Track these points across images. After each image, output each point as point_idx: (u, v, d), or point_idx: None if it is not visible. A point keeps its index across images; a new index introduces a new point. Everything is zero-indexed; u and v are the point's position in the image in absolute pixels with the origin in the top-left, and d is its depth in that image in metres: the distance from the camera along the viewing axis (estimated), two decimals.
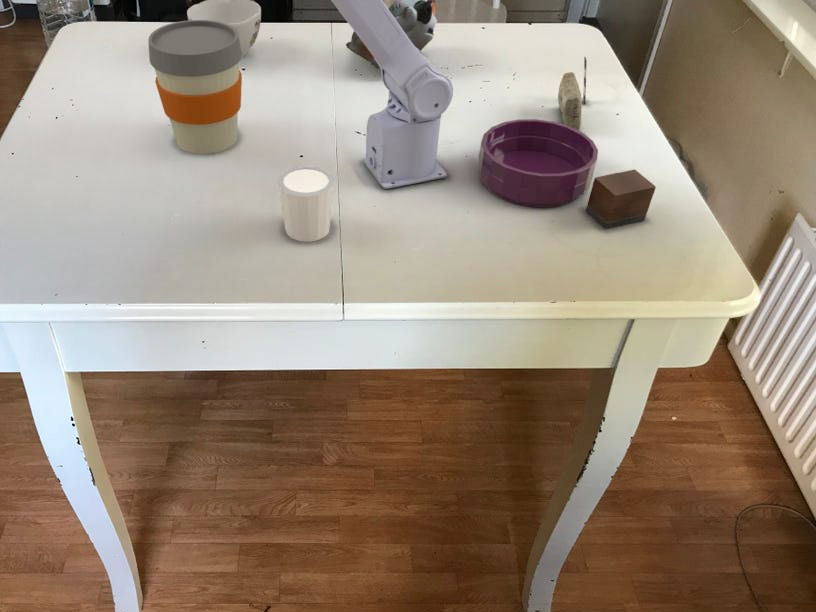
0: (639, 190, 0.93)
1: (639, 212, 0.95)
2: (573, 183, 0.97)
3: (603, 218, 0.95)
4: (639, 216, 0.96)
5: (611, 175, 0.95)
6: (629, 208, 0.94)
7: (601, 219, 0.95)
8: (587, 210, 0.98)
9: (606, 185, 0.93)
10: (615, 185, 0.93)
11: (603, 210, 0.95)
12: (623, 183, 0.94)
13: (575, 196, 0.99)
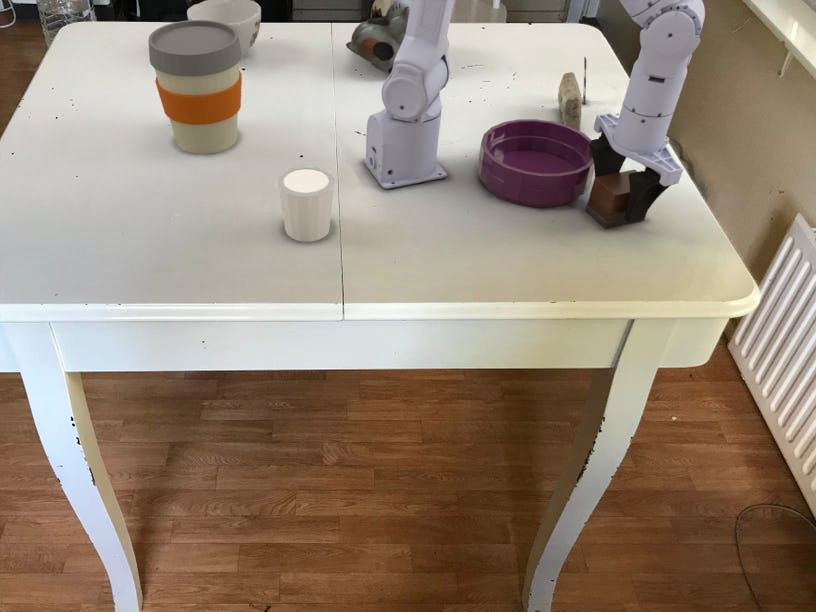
0: None
1: None
2: (573, 183, 0.97)
3: (603, 218, 0.95)
4: None
5: (611, 175, 0.95)
6: None
7: (601, 219, 0.95)
8: (587, 210, 0.98)
9: (606, 185, 0.93)
10: (615, 185, 0.93)
11: (603, 210, 0.95)
12: (623, 183, 0.94)
13: (575, 196, 0.99)
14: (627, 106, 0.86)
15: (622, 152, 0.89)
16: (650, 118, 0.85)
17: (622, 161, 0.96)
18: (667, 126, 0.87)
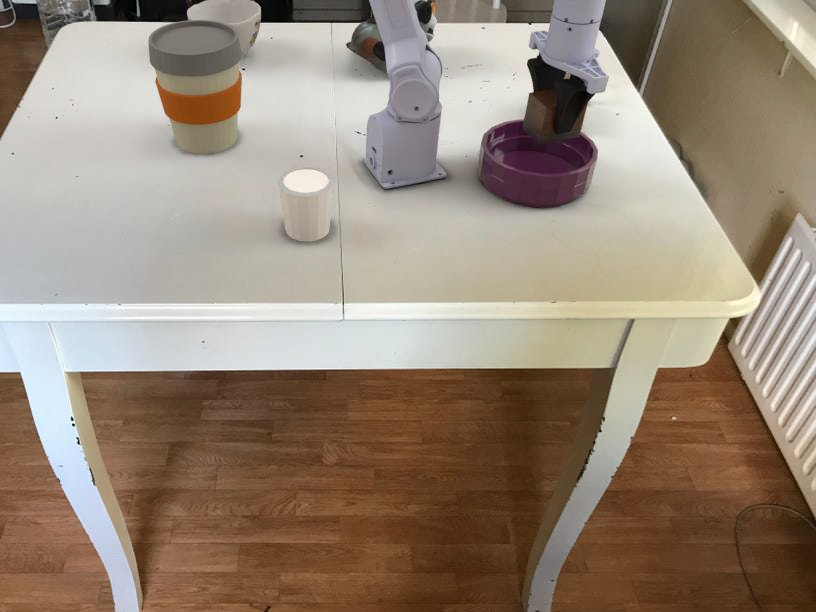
0: None
1: (573, 128, 0.97)
2: (573, 183, 0.97)
3: (537, 133, 0.96)
4: (574, 132, 0.97)
5: (545, 91, 0.96)
6: None
7: (536, 134, 0.97)
8: (523, 127, 0.99)
9: (540, 99, 0.95)
10: (548, 99, 0.95)
11: (537, 125, 0.96)
12: None
13: (575, 196, 0.99)
14: (558, 17, 0.87)
15: (552, 63, 0.90)
16: (576, 25, 0.87)
17: None
18: (594, 35, 0.88)
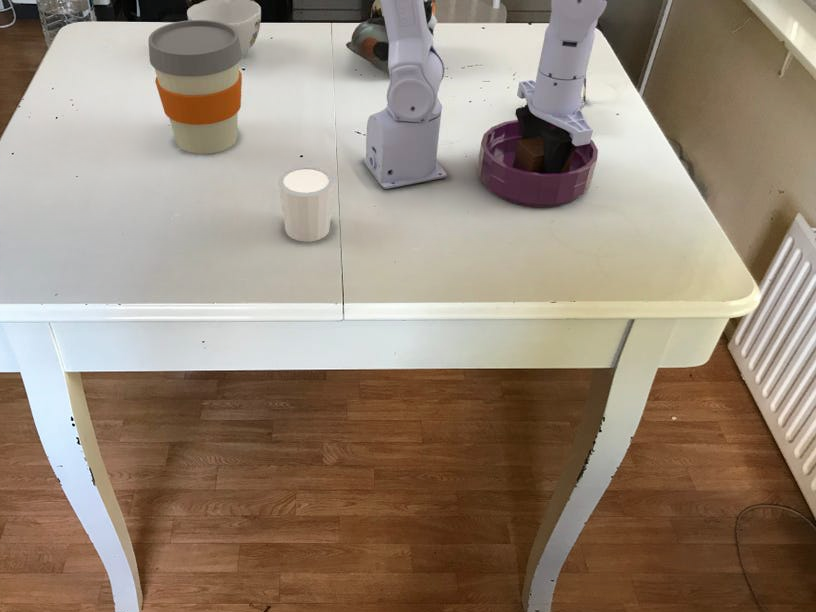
0: None
1: None
2: (573, 183, 0.97)
3: None
4: None
5: (533, 138, 1.00)
6: None
7: None
8: None
9: (528, 147, 0.98)
10: (536, 148, 0.98)
11: None
12: None
13: (575, 196, 0.99)
14: (543, 72, 0.91)
15: (538, 115, 0.94)
16: (561, 81, 0.90)
17: (547, 129, 1.00)
18: (579, 89, 0.91)
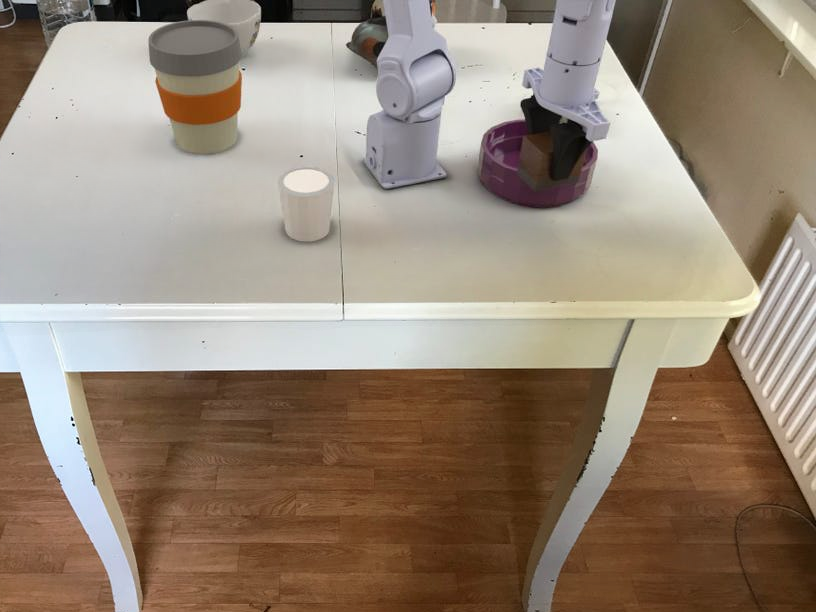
0: None
1: (572, 173, 0.89)
2: None
3: (532, 179, 0.89)
4: (572, 177, 0.89)
5: (541, 133, 0.89)
6: None
7: (531, 181, 0.89)
8: (517, 172, 0.91)
9: (535, 143, 0.87)
10: (544, 144, 0.87)
11: (532, 170, 0.88)
12: None
13: (575, 196, 0.99)
14: (547, 51, 0.80)
15: (547, 106, 0.82)
16: (574, 66, 0.79)
17: (557, 122, 0.89)
18: (594, 76, 0.80)
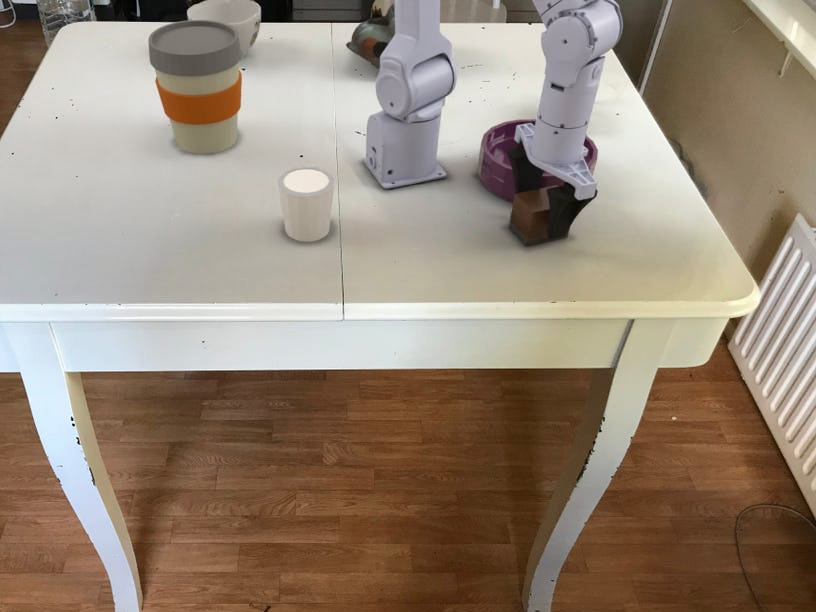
0: None
1: None
2: None
3: (523, 235, 0.92)
4: None
5: (532, 191, 0.92)
6: None
7: (522, 236, 0.93)
8: (509, 226, 0.95)
9: (526, 202, 0.91)
10: (534, 202, 0.91)
11: (523, 227, 0.92)
12: (543, 200, 0.91)
13: None
14: (538, 112, 0.84)
15: (538, 164, 0.86)
16: (563, 129, 0.82)
17: (542, 171, 0.93)
18: (582, 137, 0.83)
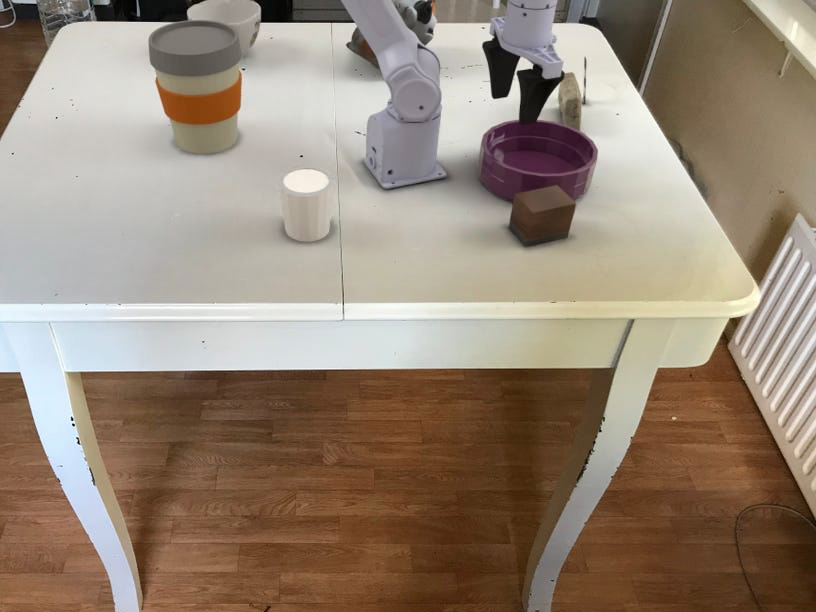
0: (559, 207, 0.90)
1: (561, 229, 0.93)
2: (573, 183, 0.97)
3: (523, 235, 0.92)
4: (562, 233, 0.93)
5: (532, 191, 0.92)
6: (550, 225, 0.92)
7: (522, 236, 0.93)
8: (509, 226, 0.95)
9: (526, 202, 0.91)
10: (534, 202, 0.91)
11: (523, 227, 0.92)
12: (543, 200, 0.91)
13: (575, 196, 0.99)
14: (515, 3, 0.87)
15: (508, 48, 0.91)
16: (531, 10, 0.87)
17: (515, 63, 0.98)
18: (550, 20, 0.88)
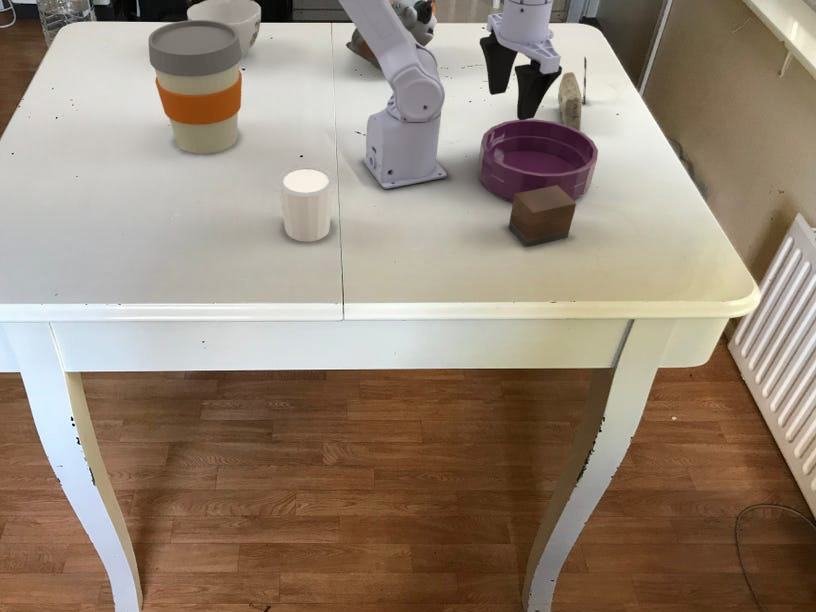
0: (559, 207, 0.90)
1: (561, 229, 0.93)
2: (573, 183, 0.97)
3: (523, 235, 0.92)
4: (562, 233, 0.93)
5: (532, 191, 0.92)
6: (550, 225, 0.92)
7: (522, 236, 0.93)
8: (509, 226, 0.95)
9: (526, 202, 0.91)
10: (534, 202, 0.91)
11: (523, 227, 0.92)
12: (543, 200, 0.91)
13: (575, 196, 0.99)
14: (513, 0, 0.88)
15: (506, 44, 0.92)
16: (528, 6, 0.88)
17: (513, 59, 0.99)
18: (547, 16, 0.89)
